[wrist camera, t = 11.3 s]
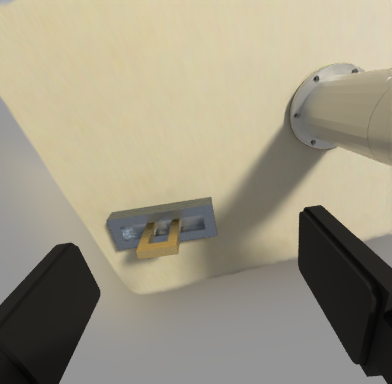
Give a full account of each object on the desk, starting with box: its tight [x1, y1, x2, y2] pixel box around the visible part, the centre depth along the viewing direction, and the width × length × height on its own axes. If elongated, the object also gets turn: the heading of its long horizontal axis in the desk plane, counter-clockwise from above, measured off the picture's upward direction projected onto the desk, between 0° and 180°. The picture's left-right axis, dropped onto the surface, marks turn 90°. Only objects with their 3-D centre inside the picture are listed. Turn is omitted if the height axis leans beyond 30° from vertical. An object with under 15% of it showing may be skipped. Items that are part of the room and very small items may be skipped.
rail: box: [106, 197, 217, 250], centre depth 42 cm, size 20×7×3 cm, turn 100°
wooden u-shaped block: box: [136, 218, 182, 259], centre depth 39 cm, size 7×2×9 cm, turn 100°
